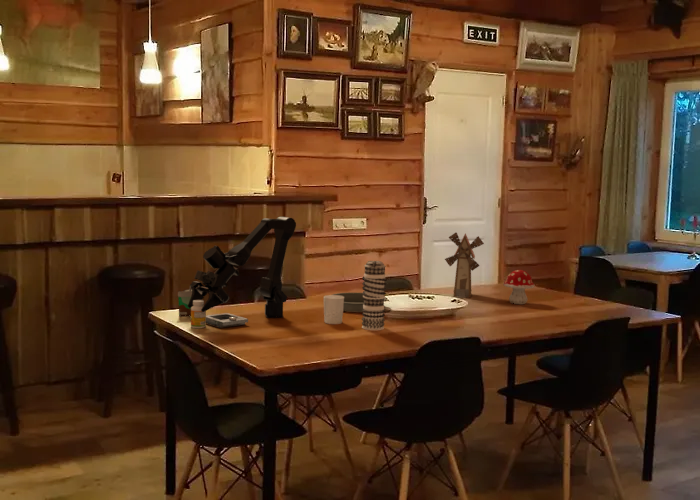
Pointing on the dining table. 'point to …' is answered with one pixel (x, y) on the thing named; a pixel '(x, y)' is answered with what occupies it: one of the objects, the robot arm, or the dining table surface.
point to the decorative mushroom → (518, 286)
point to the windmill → (463, 264)
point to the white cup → (333, 309)
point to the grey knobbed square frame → (225, 320)
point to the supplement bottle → (198, 315)
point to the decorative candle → (373, 295)
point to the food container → (184, 302)
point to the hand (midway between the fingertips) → (195, 309)
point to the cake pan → (353, 301)
